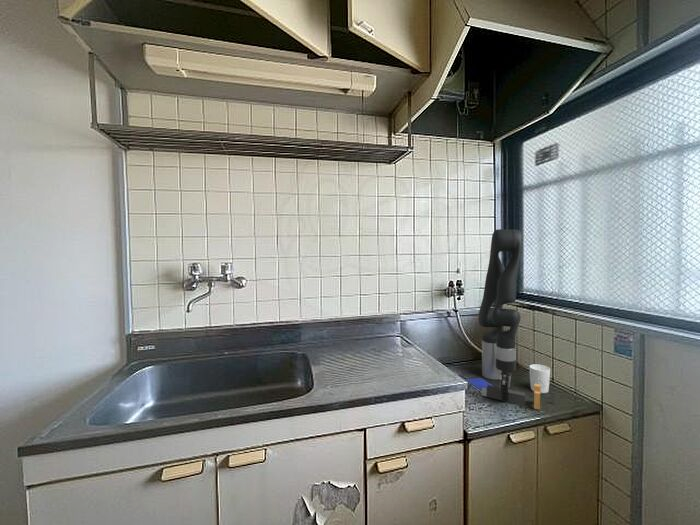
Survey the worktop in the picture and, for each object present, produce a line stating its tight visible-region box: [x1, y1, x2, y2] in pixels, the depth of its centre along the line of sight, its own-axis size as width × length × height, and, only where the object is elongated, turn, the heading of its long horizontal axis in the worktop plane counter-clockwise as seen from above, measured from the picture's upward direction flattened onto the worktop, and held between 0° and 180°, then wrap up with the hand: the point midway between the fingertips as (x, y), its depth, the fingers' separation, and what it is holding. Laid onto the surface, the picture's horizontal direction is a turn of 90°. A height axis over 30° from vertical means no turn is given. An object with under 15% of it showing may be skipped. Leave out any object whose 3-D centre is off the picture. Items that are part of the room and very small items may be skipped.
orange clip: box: [533, 384, 541, 411], centre depth 131 cm, size 6×2×8 cm, turn 150°
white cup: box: [529, 363, 551, 394], centre depth 145 cm, size 8×8×10 cm
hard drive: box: [465, 377, 494, 394], centre depth 150 cm, size 2×8×12 cm
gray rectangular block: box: [481, 384, 526, 406], centre depth 137 cm, size 3×16×4 cm, turn 60°
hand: (505, 398), depth 136 cm, fingers closed on gray rectangular block, 2 cm apart
